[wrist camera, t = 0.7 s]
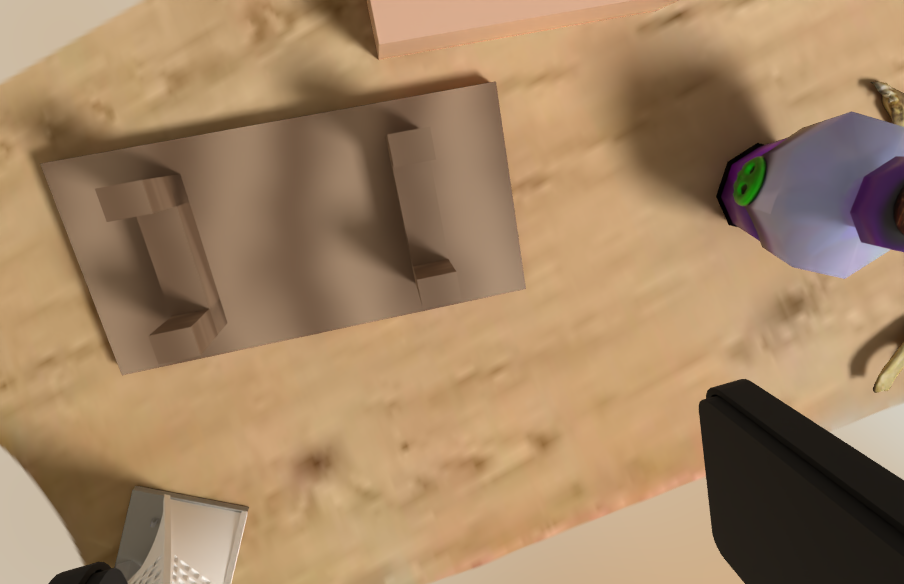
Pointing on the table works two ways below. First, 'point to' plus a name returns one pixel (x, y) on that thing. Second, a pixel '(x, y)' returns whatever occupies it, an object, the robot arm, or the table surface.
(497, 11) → the pink rectangular block
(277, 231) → the rack
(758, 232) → the potion bottle
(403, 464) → the table surface
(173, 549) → the skyscraper
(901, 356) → the animal bone
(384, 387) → the table surface
